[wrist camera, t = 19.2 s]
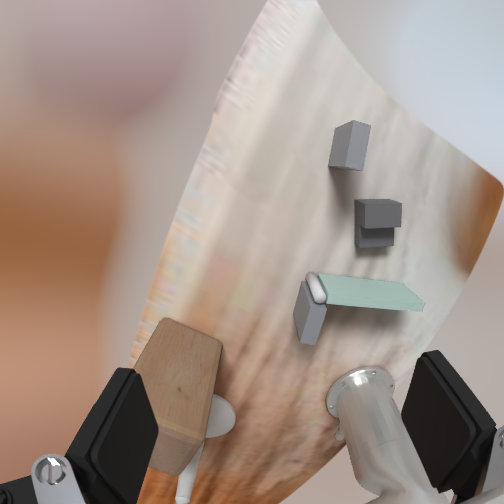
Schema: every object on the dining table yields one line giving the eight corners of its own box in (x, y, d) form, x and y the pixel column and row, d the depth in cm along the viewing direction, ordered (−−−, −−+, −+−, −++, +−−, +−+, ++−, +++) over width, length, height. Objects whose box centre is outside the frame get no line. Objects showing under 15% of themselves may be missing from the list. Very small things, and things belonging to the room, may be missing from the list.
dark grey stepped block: (354, 199, 39) (365, 203, 35) (387, 198, 39) (401, 203, 34) (354, 243, 41) (364, 252, 36) (386, 241, 40) (399, 250, 36)
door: (304, 280, 42) (313, 302, 35) (306, 271, 41) (315, 291, 34) (401, 291, 42) (422, 312, 35) (404, 282, 41) (425, 302, 35)
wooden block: (225, 340, 45) (207, 443, 26) (201, 383, 47) (179, 480, 28) (163, 312, 44) (112, 403, 25) (146, 359, 46) (101, 448, 27)
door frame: (306, 315, 43) (315, 345, 36) (293, 313, 43) (299, 343, 36) (349, 132, 36) (370, 125, 29) (335, 128, 36) (353, 120, 29)
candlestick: (249, 410, 49) (242, 566, 20) (213, 443, 52) (193, 574, 23) (185, 377, 47) (138, 538, 18) (155, 414, 50) (109, 547, 22)
